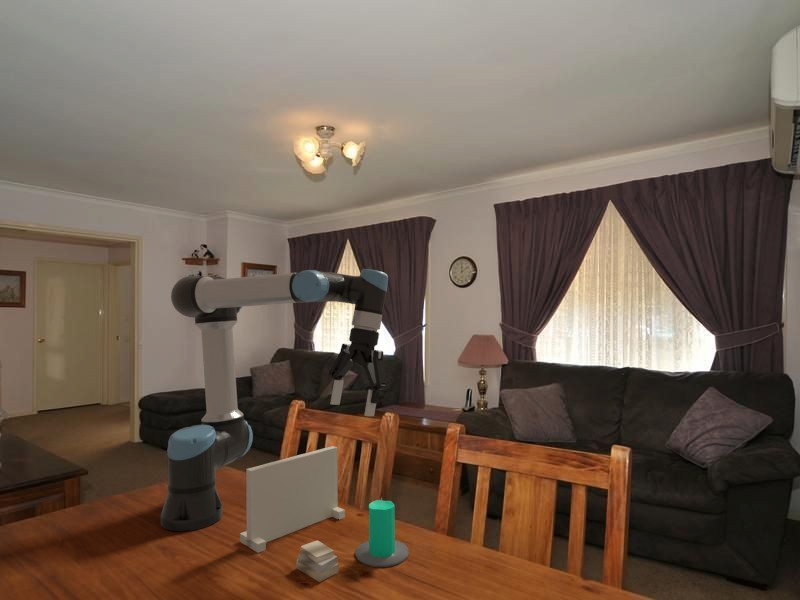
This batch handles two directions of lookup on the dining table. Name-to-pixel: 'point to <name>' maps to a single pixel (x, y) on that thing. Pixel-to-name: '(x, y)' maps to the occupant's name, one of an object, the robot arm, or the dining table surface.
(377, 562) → the coaster
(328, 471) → the standing panel with feet
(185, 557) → the dining table surface
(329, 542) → the dining table surface
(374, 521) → the candle
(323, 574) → the offcut stack
